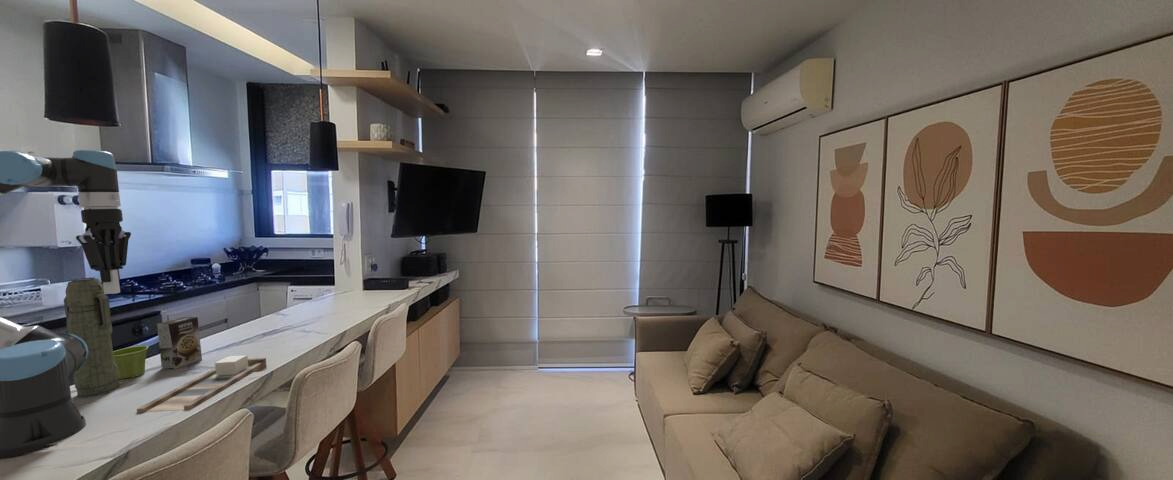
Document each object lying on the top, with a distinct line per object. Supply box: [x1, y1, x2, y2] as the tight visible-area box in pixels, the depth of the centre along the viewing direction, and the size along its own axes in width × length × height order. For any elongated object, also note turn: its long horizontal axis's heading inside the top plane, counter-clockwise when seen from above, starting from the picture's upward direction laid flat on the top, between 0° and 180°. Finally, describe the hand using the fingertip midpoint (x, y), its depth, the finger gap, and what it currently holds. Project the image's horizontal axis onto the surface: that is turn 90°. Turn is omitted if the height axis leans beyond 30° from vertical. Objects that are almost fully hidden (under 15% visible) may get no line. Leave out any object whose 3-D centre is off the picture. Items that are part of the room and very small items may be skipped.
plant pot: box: [113, 345, 149, 380], centre depth 146 cm, size 9×9×9 cm
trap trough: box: [136, 357, 268, 414], centre depth 134 cm, size 33×13×3 cm, turn 6°
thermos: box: [63, 277, 120, 398], centre depth 133 cm, size 9×12×35 cm
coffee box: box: [156, 316, 203, 370], centre depth 155 cm, size 9×6×16 cm
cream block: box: [214, 354, 249, 376], centre depth 144 cm, size 6×6×4 cm
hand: (112, 293), depth 121 cm, fingers closed
